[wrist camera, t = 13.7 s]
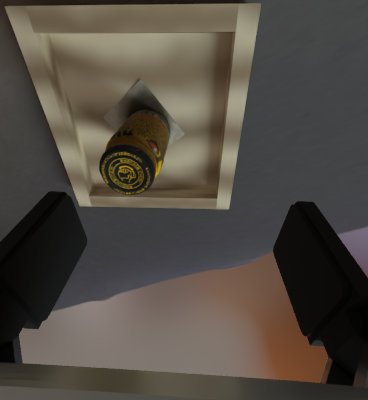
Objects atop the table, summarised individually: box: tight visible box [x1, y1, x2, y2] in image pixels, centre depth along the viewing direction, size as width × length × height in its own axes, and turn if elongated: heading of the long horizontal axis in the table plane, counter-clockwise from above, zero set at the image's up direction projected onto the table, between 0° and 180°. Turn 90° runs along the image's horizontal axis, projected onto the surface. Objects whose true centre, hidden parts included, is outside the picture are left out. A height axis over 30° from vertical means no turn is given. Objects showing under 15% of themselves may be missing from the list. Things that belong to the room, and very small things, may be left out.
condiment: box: [99, 80, 185, 195], centre depth 24 cm, size 7×8×12 cm
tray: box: [5, 3, 261, 209], centre depth 28 cm, size 24×24×4 cm
